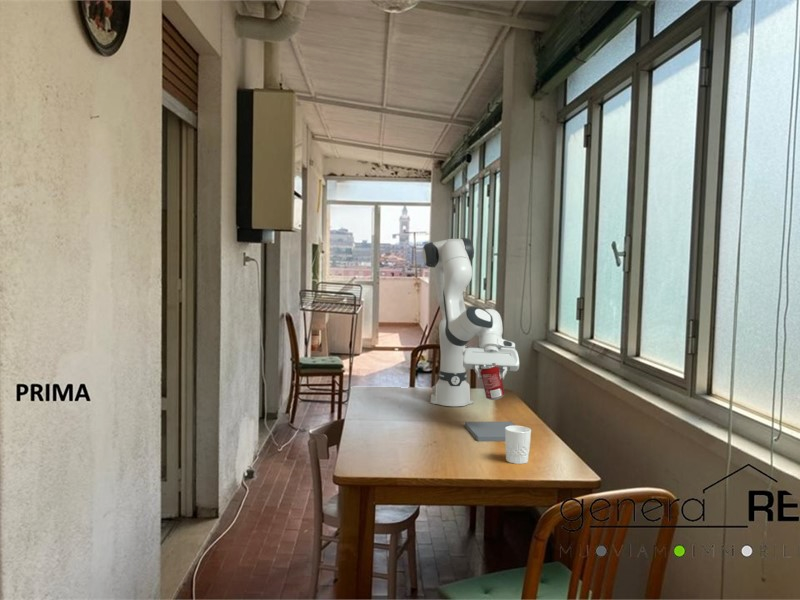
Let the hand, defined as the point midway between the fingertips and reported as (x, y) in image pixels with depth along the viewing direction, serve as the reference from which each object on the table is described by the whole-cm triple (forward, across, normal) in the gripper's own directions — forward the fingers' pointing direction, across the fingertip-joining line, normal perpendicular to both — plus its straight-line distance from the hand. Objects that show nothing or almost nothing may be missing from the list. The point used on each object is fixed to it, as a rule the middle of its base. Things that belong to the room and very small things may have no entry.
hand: (490, 378), depth 216 cm
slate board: (+13, +2, +16) cm, 21 cm away
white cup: (+34, +8, -6) cm, 36 cm away
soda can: (+4, +2, +6) cm, 8 cm away
